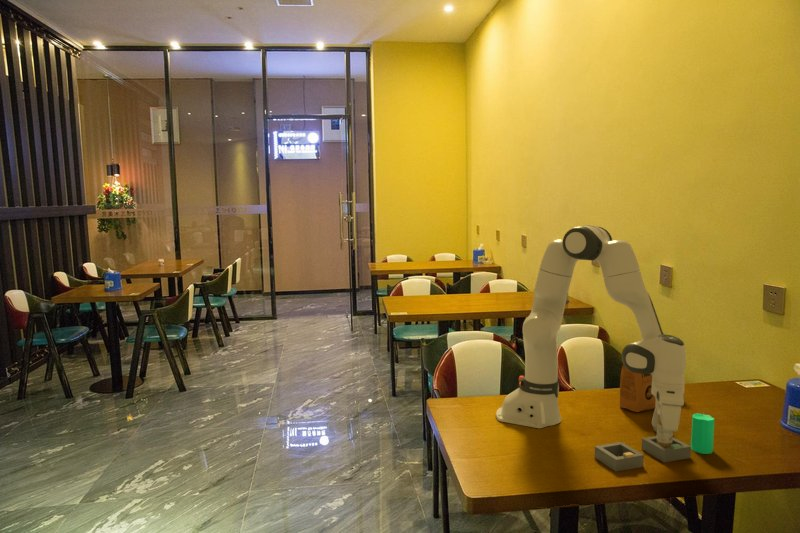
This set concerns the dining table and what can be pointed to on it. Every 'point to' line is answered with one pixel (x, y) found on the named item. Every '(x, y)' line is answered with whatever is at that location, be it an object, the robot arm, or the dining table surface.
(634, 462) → the gray open box
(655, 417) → the salt shaker
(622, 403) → the coffee package
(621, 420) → the dining table surface
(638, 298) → the robot arm
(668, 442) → the sprinkles bottle
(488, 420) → the dining table surface
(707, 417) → the candle
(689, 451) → the grey square tray
